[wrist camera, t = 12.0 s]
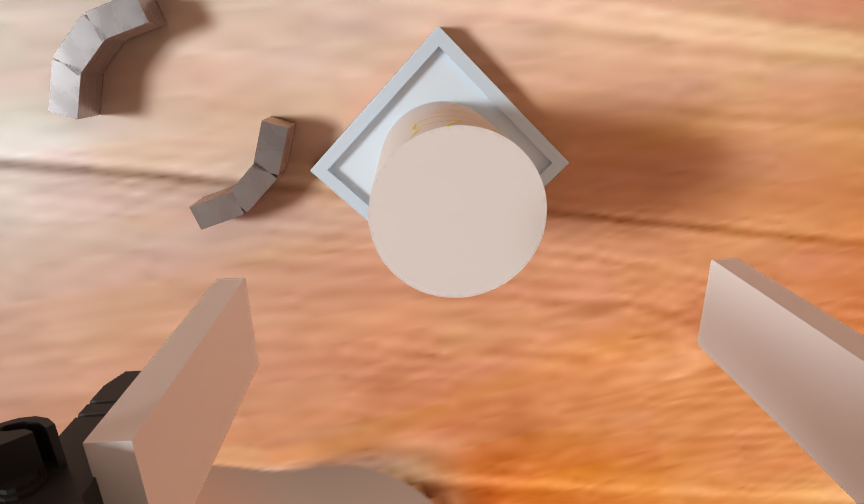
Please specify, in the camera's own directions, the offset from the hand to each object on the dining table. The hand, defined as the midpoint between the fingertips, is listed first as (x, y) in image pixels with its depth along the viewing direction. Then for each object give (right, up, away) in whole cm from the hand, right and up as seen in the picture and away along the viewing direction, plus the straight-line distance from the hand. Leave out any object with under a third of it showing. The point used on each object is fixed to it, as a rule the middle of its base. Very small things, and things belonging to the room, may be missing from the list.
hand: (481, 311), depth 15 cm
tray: (-1, +8, +21) cm, 23 cm away
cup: (-1, +8, +21) cm, 22 cm away
